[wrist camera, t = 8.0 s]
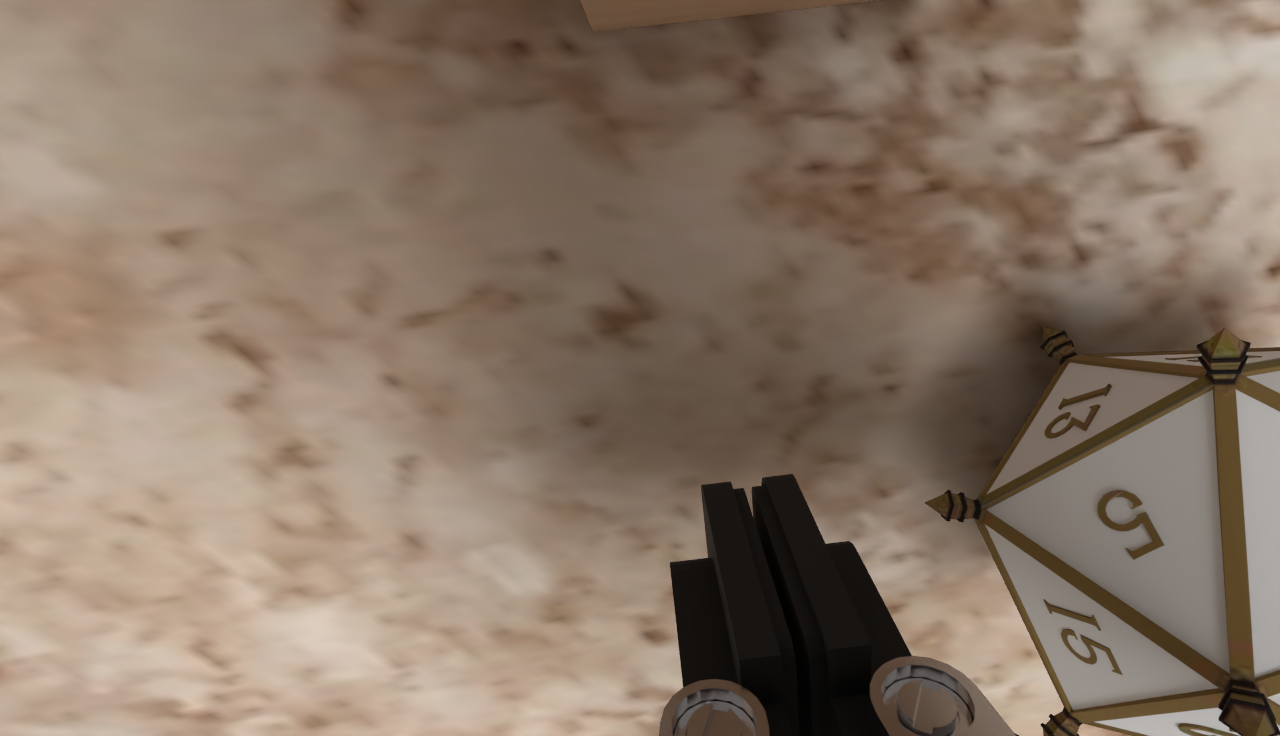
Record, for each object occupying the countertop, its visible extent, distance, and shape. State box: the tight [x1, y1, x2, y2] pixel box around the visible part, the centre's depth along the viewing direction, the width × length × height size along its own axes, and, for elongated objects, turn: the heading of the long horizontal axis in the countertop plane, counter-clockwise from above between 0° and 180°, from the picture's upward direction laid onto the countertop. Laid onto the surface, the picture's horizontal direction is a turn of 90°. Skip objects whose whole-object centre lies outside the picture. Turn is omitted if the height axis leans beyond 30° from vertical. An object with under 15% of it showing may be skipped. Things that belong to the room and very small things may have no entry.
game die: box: [925, 326, 1280, 736], centre depth 12 cm, size 9×8×10 cm
